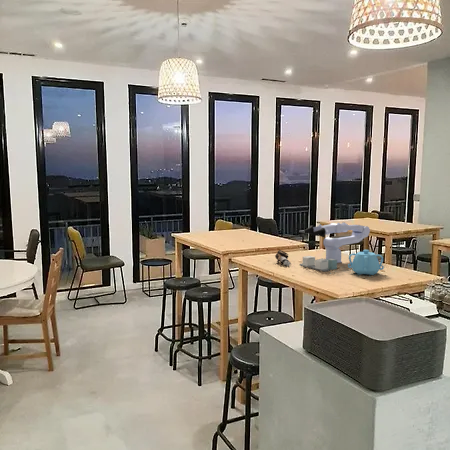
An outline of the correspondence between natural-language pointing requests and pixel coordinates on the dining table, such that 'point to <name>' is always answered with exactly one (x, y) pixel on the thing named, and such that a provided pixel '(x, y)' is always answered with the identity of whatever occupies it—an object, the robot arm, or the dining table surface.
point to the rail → (315, 268)
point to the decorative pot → (365, 263)
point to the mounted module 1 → (308, 260)
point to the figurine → (282, 257)
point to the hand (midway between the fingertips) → (309, 232)
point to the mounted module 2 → (321, 264)
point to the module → (332, 264)
